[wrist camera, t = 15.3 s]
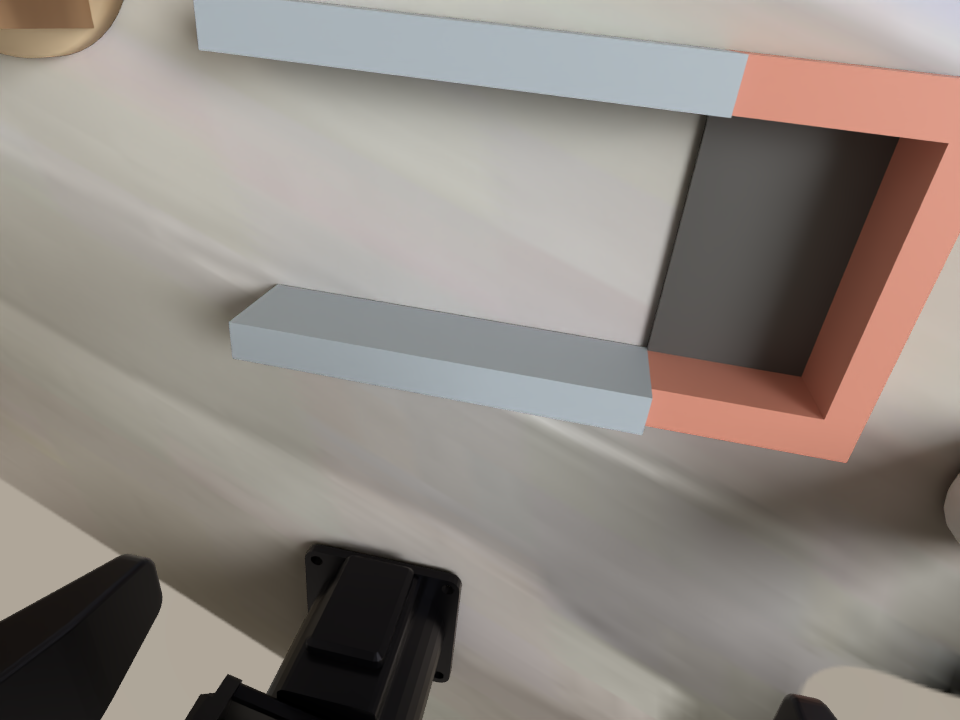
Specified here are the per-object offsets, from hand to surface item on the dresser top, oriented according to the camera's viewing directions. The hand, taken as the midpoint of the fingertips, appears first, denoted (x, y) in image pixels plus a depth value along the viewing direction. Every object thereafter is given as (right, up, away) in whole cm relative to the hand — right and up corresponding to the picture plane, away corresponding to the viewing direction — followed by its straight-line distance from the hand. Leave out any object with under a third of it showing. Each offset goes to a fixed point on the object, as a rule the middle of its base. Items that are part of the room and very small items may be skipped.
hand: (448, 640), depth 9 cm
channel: (0, +8, +9) cm, 12 cm away
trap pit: (+8, +7, +8) cm, 14 cm away
